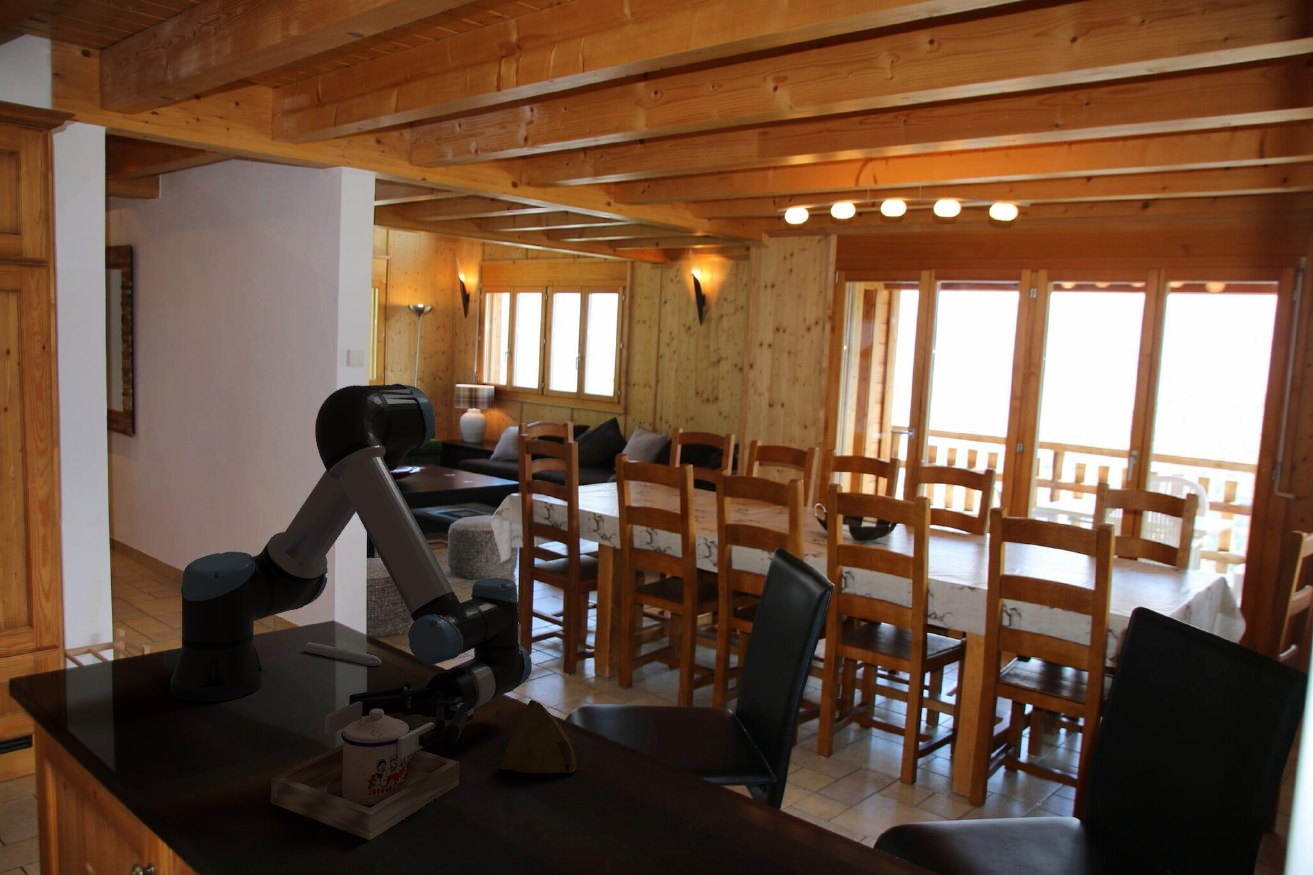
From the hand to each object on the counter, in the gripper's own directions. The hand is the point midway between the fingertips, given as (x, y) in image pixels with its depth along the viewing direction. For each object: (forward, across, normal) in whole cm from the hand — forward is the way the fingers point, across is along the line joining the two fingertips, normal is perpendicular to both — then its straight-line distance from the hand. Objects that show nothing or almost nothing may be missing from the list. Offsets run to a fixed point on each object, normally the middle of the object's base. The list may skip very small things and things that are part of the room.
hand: (362, 736), depth 131 cm
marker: (-40, +44, -10) cm, 60 cm away
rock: (-22, -16, -9) cm, 28 cm away
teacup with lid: (-2, -2, -8) cm, 8 cm away
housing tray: (-1, 0, -9) cm, 9 cm away
